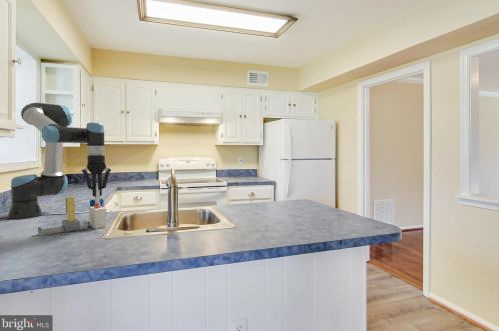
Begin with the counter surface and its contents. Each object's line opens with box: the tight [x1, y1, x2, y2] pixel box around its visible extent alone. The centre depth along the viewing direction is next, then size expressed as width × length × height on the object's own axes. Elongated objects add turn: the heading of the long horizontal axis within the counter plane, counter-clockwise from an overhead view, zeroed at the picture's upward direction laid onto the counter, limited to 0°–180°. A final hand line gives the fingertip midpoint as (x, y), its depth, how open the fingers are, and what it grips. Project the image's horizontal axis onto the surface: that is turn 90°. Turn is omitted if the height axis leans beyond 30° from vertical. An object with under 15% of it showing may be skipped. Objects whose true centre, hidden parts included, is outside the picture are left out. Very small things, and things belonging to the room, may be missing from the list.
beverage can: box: [89, 197, 105, 208], centre depth 155 cm, size 6×6×12 cm
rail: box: [37, 220, 88, 237], centre depth 136 cm, size 3×19×3 cm, turn 132°
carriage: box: [61, 196, 81, 233], centre depth 137 cm, size 8×6×15 cm
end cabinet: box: [88, 206, 107, 229], centre depth 145 cm, size 10×5×9 cm, turn 42°
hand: (97, 203), depth 145 cm, fingers closed
